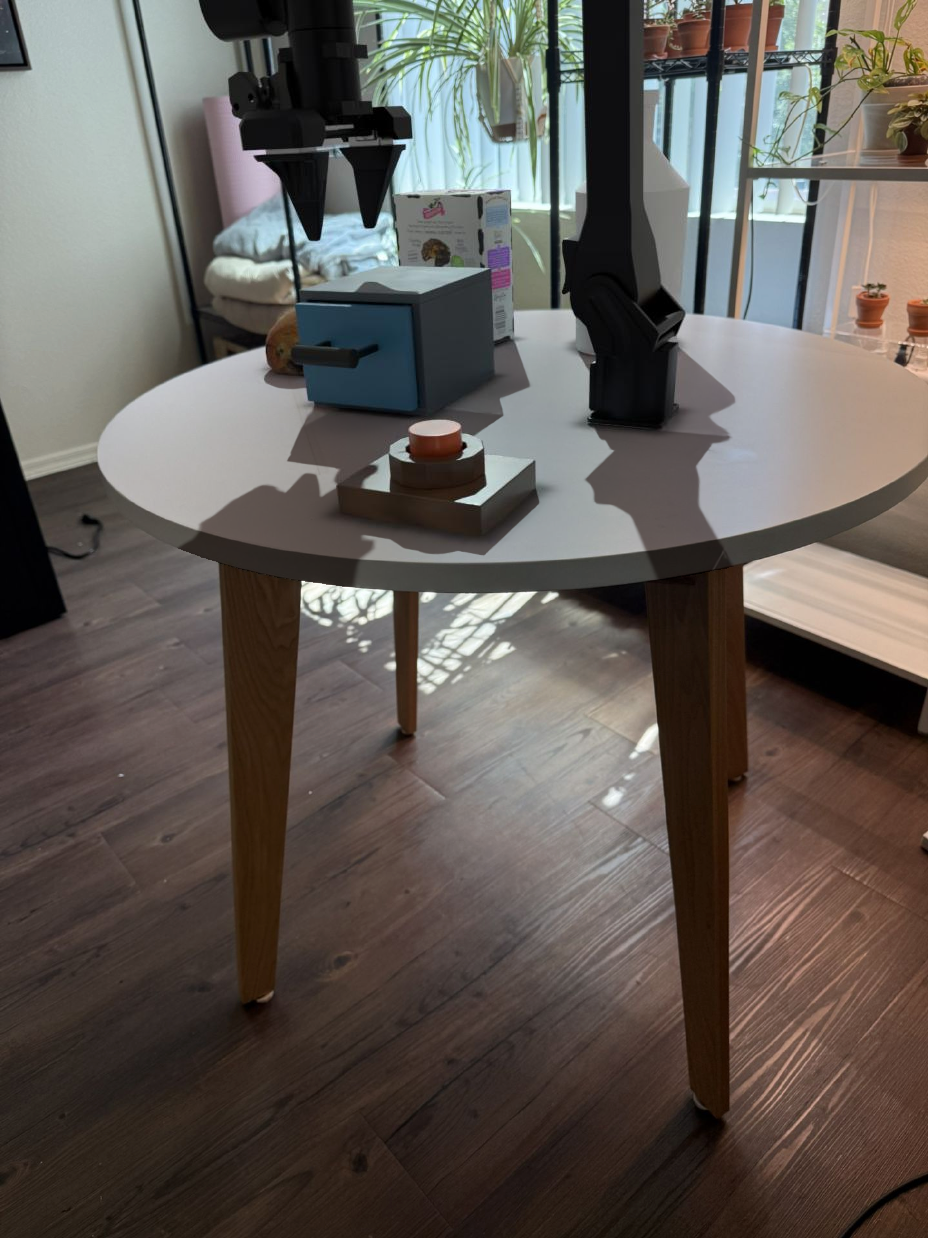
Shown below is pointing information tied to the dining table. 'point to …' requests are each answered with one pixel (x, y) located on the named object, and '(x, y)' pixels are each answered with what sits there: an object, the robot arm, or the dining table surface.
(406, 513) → the control block
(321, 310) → the blue drawer
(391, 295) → the drawer cabinet
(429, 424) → the button
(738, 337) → the dining table surface
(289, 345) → the bread roll
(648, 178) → the bottle
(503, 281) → the candy box
